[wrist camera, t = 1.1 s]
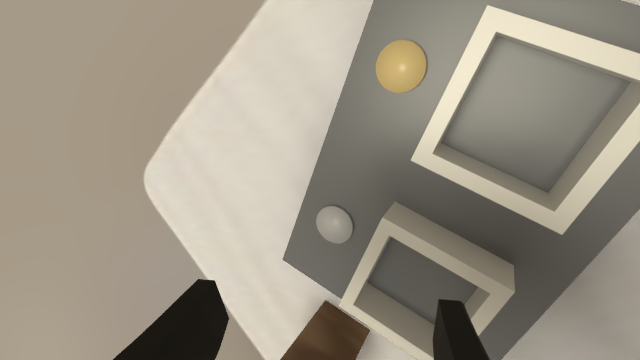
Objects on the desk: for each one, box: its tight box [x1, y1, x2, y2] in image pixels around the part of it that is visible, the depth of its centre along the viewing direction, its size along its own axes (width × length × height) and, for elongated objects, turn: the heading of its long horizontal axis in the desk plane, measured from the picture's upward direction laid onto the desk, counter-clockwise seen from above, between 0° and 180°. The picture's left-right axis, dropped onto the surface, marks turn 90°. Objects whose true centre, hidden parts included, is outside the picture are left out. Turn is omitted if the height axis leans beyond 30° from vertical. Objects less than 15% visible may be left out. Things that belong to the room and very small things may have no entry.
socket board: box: [283, 0, 640, 360], centre depth 18 cm, size 15×21×4 cm
